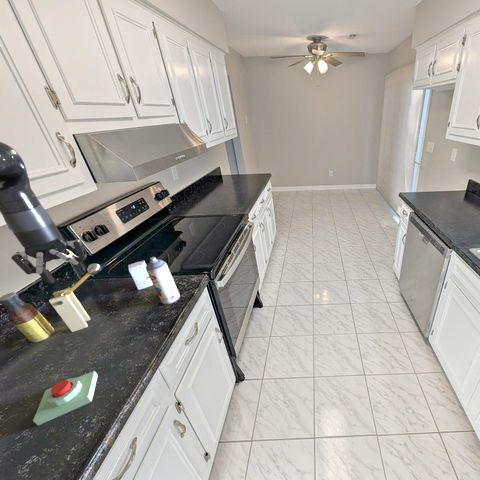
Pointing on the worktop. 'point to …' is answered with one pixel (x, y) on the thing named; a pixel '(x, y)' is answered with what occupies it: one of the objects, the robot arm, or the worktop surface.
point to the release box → (67, 398)
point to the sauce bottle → (26, 318)
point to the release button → (61, 388)
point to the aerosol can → (162, 281)
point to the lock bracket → (70, 310)
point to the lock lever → (84, 278)
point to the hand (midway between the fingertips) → (67, 278)
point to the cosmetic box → (140, 275)
